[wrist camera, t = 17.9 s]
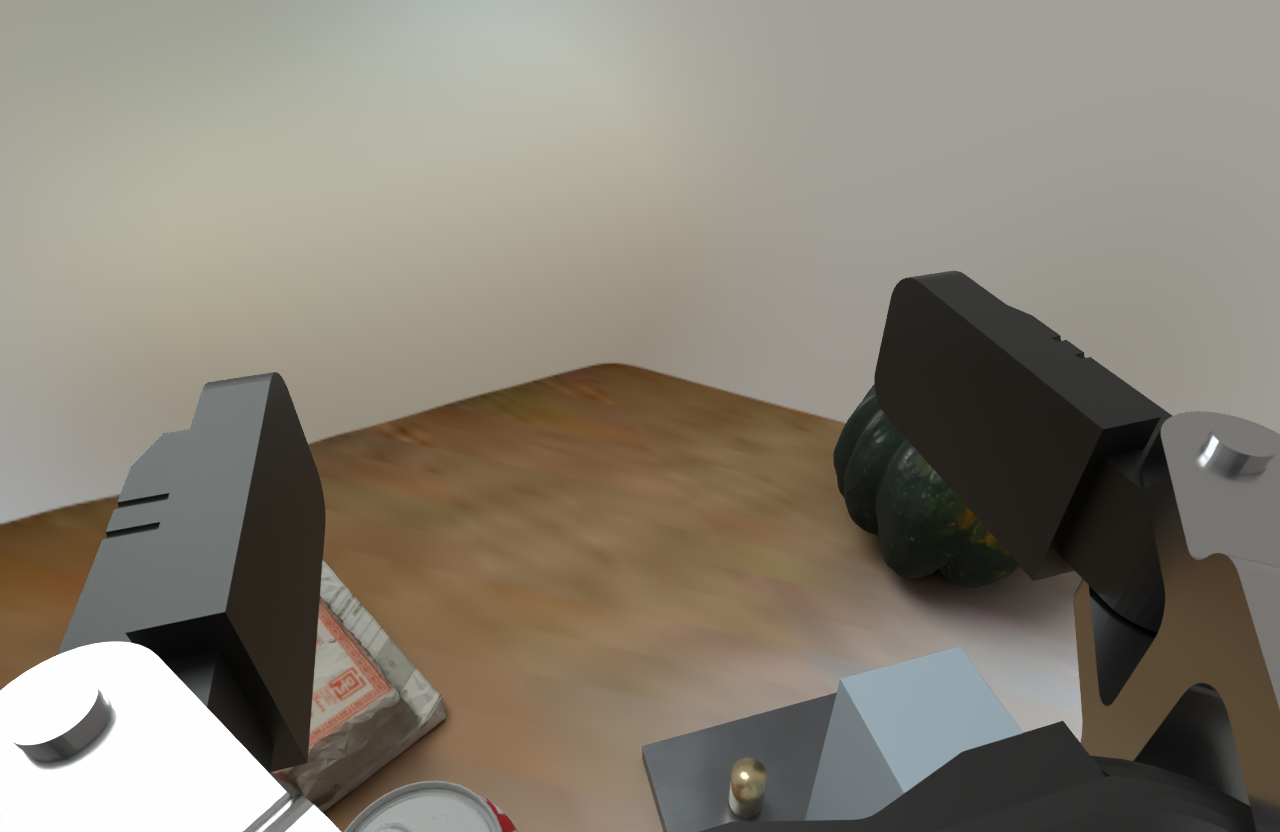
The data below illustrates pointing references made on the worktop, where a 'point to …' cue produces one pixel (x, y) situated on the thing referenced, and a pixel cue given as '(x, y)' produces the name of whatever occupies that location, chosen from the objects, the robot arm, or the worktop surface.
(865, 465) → the squash
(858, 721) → the block
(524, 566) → the worktop surface
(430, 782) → the soda can
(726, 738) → the plate
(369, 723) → the packaged product
